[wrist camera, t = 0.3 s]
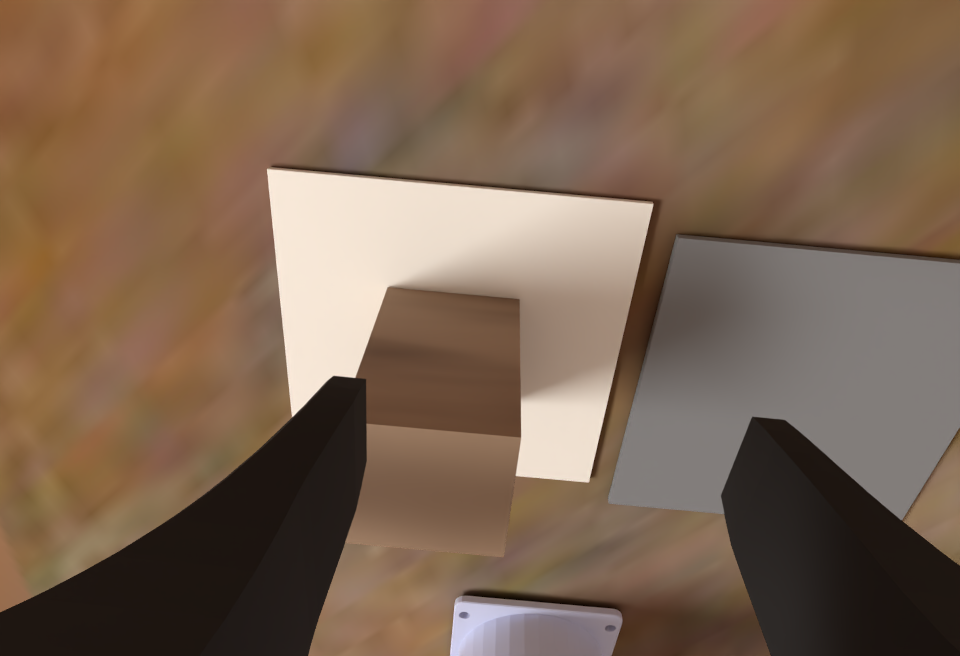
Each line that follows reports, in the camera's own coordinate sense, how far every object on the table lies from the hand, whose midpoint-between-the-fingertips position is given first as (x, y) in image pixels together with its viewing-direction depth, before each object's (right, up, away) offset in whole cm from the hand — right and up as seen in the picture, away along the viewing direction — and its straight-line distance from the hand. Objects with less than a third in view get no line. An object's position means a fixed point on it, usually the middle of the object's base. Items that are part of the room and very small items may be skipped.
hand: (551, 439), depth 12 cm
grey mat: (+10, -1, +12) cm, 16 cm away
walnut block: (-2, +1, +11) cm, 11 cm away
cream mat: (-2, +1, +11) cm, 11 cm away
